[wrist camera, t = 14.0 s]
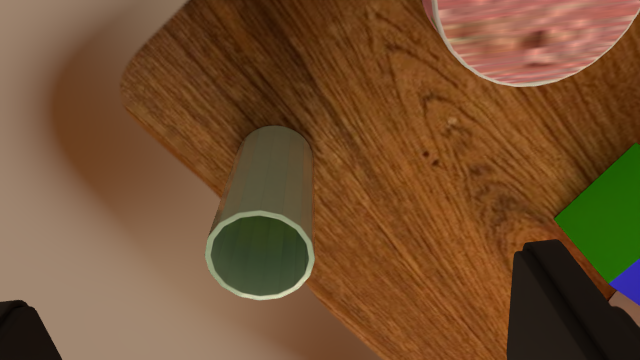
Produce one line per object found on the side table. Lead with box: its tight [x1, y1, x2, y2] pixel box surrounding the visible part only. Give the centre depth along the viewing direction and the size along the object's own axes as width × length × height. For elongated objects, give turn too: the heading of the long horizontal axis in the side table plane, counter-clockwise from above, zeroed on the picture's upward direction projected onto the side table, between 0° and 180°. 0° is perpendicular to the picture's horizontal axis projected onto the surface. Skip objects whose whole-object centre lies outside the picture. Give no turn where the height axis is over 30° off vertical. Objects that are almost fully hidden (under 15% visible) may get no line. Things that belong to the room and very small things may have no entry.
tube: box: [205, 126, 315, 300], centre depth 31 cm, size 6×6×12 cm
